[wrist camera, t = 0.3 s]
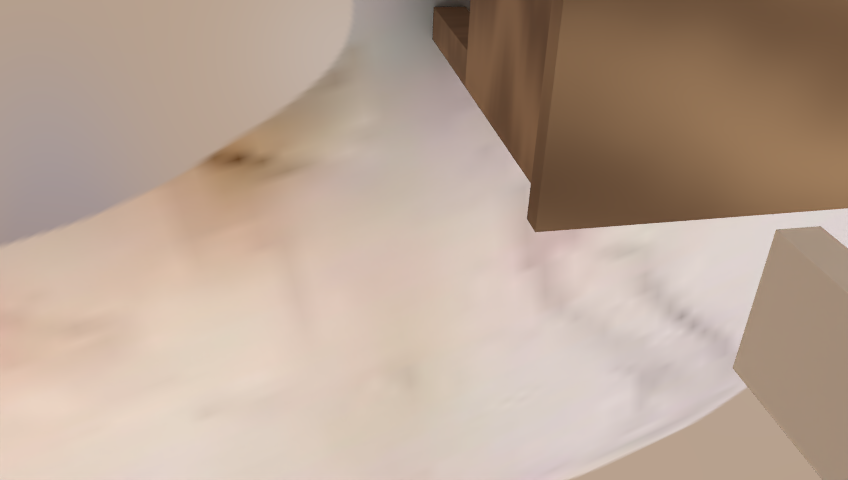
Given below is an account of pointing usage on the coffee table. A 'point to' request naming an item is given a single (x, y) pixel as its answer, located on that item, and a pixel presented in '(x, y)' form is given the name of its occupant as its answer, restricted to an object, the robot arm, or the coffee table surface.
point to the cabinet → (660, 104)
